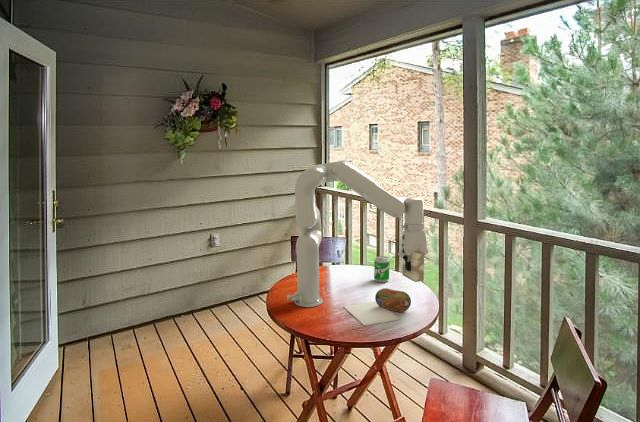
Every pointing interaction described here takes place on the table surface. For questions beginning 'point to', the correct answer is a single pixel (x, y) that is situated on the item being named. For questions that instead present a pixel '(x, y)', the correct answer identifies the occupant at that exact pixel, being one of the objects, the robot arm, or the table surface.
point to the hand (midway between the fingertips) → (412, 269)
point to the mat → (370, 313)
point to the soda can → (381, 269)
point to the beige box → (415, 267)
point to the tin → (393, 300)
